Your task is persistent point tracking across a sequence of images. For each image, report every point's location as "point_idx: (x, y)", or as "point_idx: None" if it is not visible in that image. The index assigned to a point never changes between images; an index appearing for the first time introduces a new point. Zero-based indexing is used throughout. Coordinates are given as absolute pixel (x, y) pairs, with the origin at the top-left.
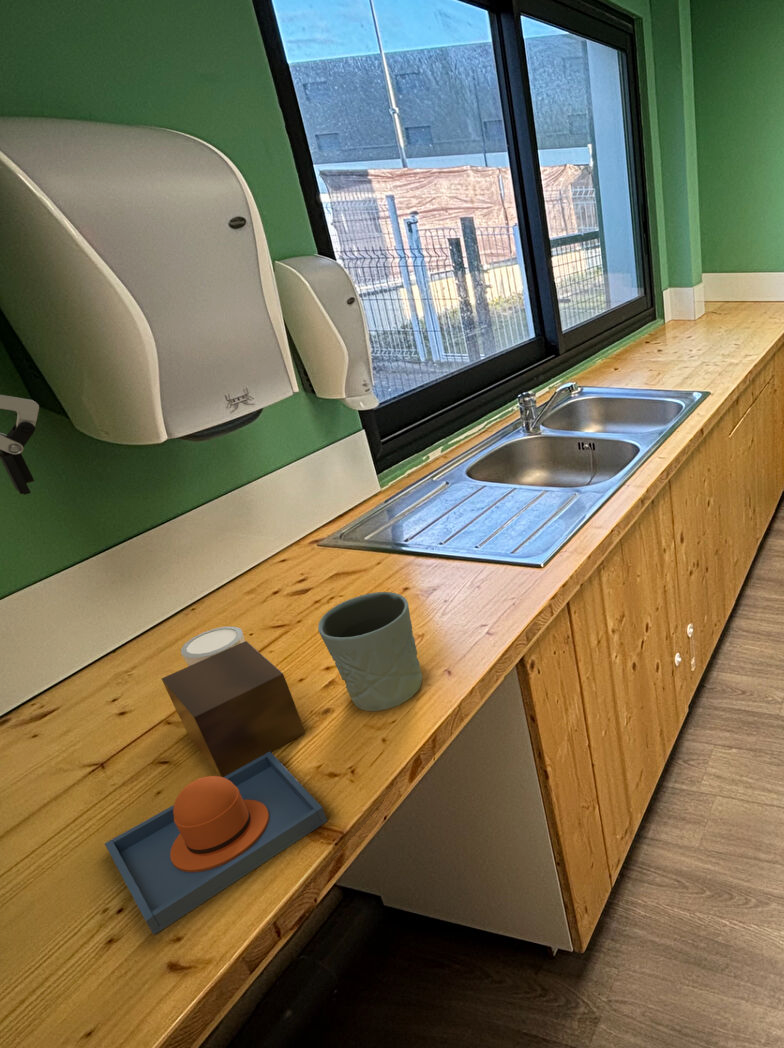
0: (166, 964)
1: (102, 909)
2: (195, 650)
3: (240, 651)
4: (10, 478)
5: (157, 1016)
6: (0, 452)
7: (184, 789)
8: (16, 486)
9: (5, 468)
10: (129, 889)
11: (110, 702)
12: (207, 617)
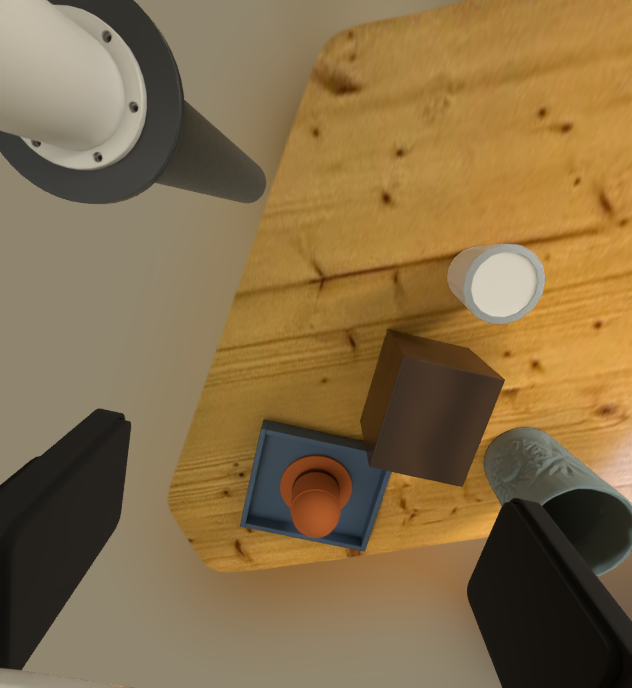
0: (236, 539)
1: (235, 462)
2: (479, 283)
3: (482, 397)
4: (527, 529)
5: (216, 564)
6: (622, 681)
7: (307, 518)
8: (484, 598)
9: (552, 582)
10: (247, 491)
11: (394, 153)
12: (604, 42)
